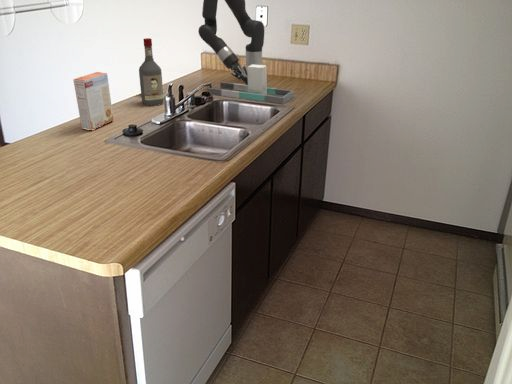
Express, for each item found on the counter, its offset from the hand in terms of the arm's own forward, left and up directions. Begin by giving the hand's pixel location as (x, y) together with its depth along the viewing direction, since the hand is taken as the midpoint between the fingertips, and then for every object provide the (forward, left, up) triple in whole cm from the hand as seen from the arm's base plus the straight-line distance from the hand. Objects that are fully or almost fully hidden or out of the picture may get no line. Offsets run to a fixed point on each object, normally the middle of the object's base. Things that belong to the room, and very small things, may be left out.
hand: (249, 84), depth 242 cm
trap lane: (0, +1, -6) cm, 6 cm away
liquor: (+35, -35, -6) cm, 50 cm away
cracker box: (+73, -36, -6) cm, 81 cm away
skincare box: (0, +5, -6) cm, 8 cm away
